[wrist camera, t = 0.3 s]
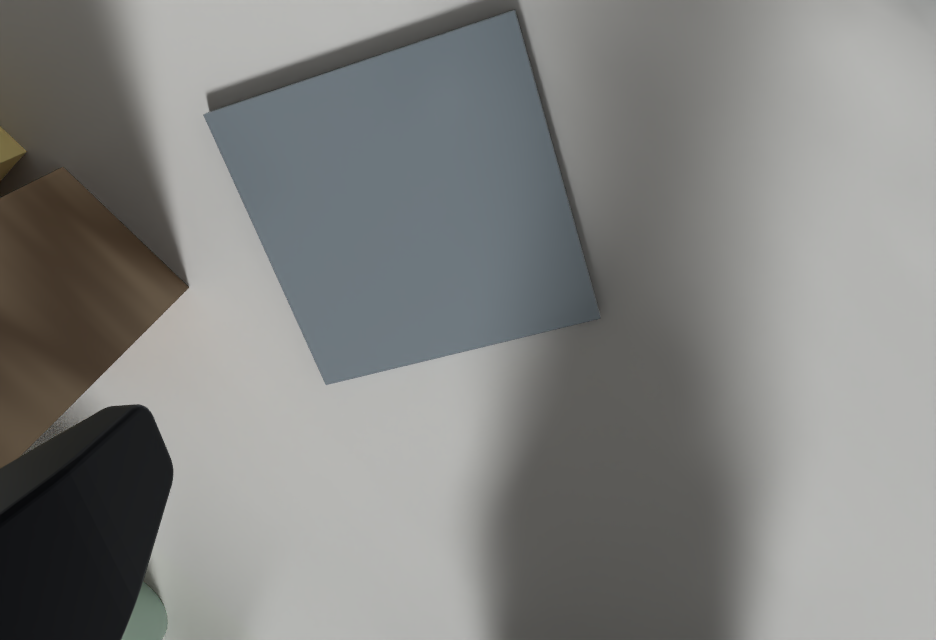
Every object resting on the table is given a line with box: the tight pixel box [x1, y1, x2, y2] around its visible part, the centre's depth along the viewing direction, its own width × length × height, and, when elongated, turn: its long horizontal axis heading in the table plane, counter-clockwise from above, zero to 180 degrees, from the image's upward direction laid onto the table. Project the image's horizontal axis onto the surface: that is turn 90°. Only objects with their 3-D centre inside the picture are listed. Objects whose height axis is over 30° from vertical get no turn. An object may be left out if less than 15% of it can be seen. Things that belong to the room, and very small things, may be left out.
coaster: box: [204, 9, 601, 385], centre depth 23 cm, size 9×9×1 cm
